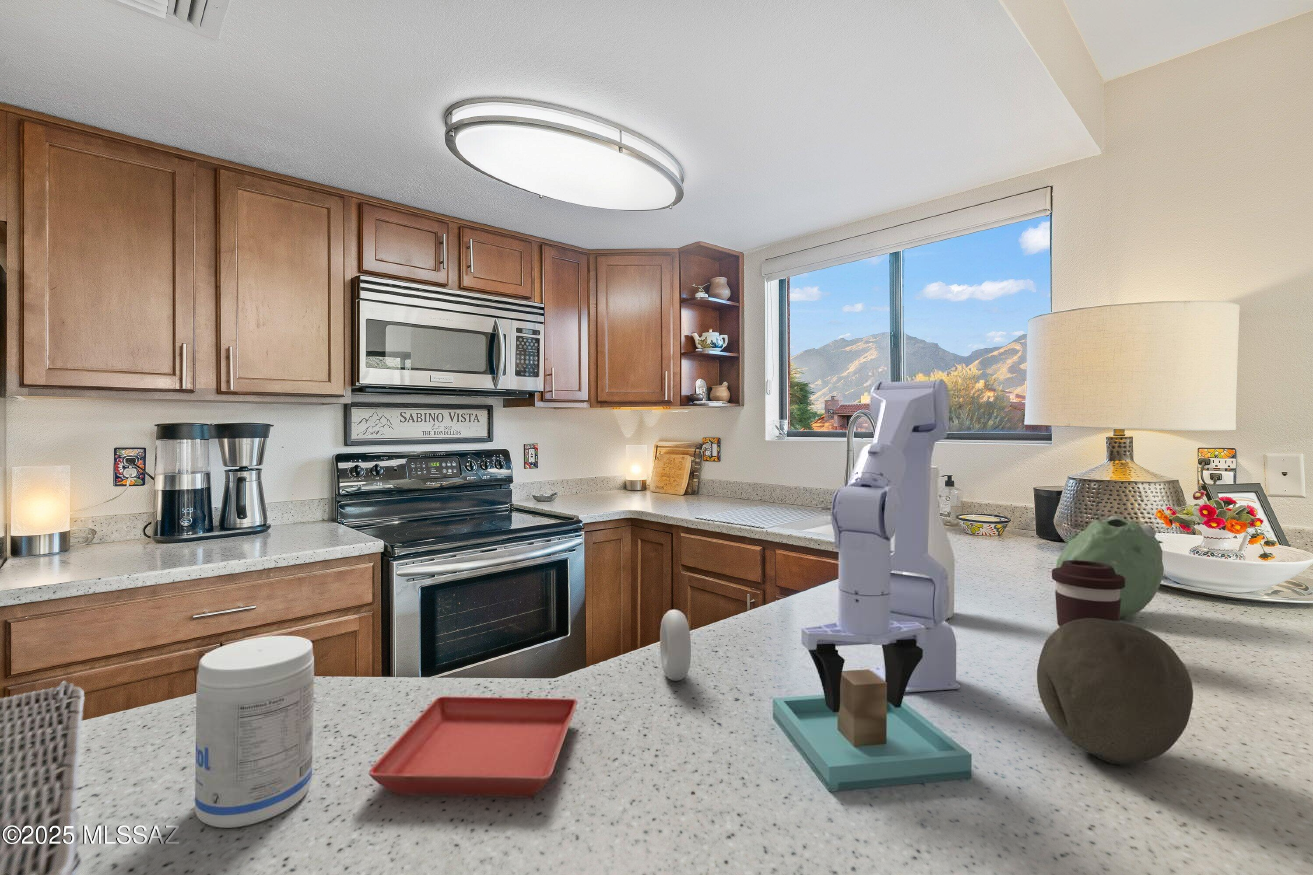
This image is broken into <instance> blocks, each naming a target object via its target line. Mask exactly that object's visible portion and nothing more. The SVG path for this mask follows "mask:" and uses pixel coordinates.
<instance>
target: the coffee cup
mask: <svg viewBox="0 0 1313 875" xmlns="http://www.w3.org/2000/svg"><path fill="white" fill-rule="evenodd" d="M1051 579H1052V580H1054V581H1055V585H1056V586H1055V587H1056V589H1055V592H1054V593H1055V594H1054V595H1055V605H1056V606H1055V607H1056V622H1057V626H1058V628H1059V627H1060V626H1062V625H1064V624H1065V623H1068V622H1070V621H1073V620H1077V619H1083V618H1097V619H1105V620H1110V621H1120V618H1119V616H1120V606H1121V599H1120V589H1122V588H1124V587H1125V578H1124V577H1123V576H1121V575H1119V574H1116V573H1115V570H1114V568H1113V567H1112V566H1110V565H1108V564H1104V563H1099V562H1093V561H1084V560H1067V561H1064V562H1063V563H1062V565H1061V567H1059V568H1056V567H1055V568H1052V569H1051Z"/></svg>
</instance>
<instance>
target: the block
mask: <svg viewBox="0 0 1313 875" xmlns="http://www.w3.org/2000/svg"><path fill="white" fill-rule="evenodd" d="M837 730H838V731H839V732H840V733H841V734H842V735H843V736H844V737H845V738H846V739H847V740H848V741H849V742H850V743H851V744H852V745H853V747H857V746H869V745H881V744H886V734H887V683H886V682H885V681H884V680H882V679H881V678H880V677H878V676H877V675H876V674H874V673H873V672H872V671H871V670H870V668H869V669H853V670H850V669H849V670H842V675H841V683H840V710H839V712H838V723H837Z"/></svg>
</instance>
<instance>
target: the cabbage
mask: <svg viewBox="0 0 1313 875" xmlns="http://www.w3.org/2000/svg"><path fill="white" fill-rule="evenodd" d="M1075 535H1076V537H1075ZM1075 535H1074V534H1070V536H1068V537H1067V542H1068V543H1067V545H1065V546H1064V549H1063V550H1062V551H1061V553H1060V555H1059V557H1058V558H1057V560H1056V565H1055V566H1056V567H1055V568H1059V567H1061V565H1062V563H1063V562H1064V561H1067V560H1084V561H1093V562H1099V563H1104V564H1108V565H1110V566H1112V567H1113V568H1114V570H1115V573H1116V574H1119V575H1121V576H1123V577H1124V578H1125V587H1124V588H1122V589H1120V599H1121V606H1120V616H1119V617H1120V618H1125V617H1128V616H1133V615H1135V614H1137V613H1139V612H1141V611H1142V610H1143V609H1145V607H1146V606H1147V605H1148V604H1150V602H1151V601H1152V600H1153V598H1154V597H1155V596H1156V594H1157V592H1158V590H1159V588H1160V585H1161V582H1162V580H1163V576H1164V572H1165V567H1164V564H1163V552H1164V551H1163V549H1162V545H1161V544H1163V543H1164V541H1161V540H1158V539H1157V538H1156V535H1157V532H1156V530H1155V528H1154V527H1152V526H1150V525H1148V524H1140V523H1138V522H1136V521H1129V520H1128V519H1126V518H1123V517H1121V516H1119V515H1110V516H1109V517H1108V518H1107V519H1106V518H1105V519H1103V520H1099V519H1093V521H1092V522H1091V523H1089V524H1088V526H1087V527H1085V529H1084V530H1083V531H1080V532H1076V533H1075Z"/></svg>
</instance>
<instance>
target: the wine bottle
mask: <svg viewBox="0 0 1313 875" xmlns="http://www.w3.org/2000/svg"><path fill="white" fill-rule="evenodd" d="M938 478H940V470H939V467H938V466H936V465H931V482H930V509H929V536H928V554H929V555H930V556H931V557H932V558H934V559H935V560H936V561H937V562H938V563H940V564H941V565H942V566H943V567H944V568H945V569H946V571H947V573H948V586H949V610H948V616H947V619H946V620H949V619H951V618H952V617H953V616H954V612H955V569H956V568H955V566H956V565H955V562H956V560H955V555H954V551H953V548H952V544H951V542H950V540H949V536H948V534H947V531H946V527H945V525H944V522H943V519H942V516H941V513H940V508H939V482H938V481H939V480H938ZM902 574H905V575H912V576H919V577H927V578H930V577H929V576H927V575H923V574H915V573H908V572H902ZM948 618H949V619H948Z"/></svg>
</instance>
